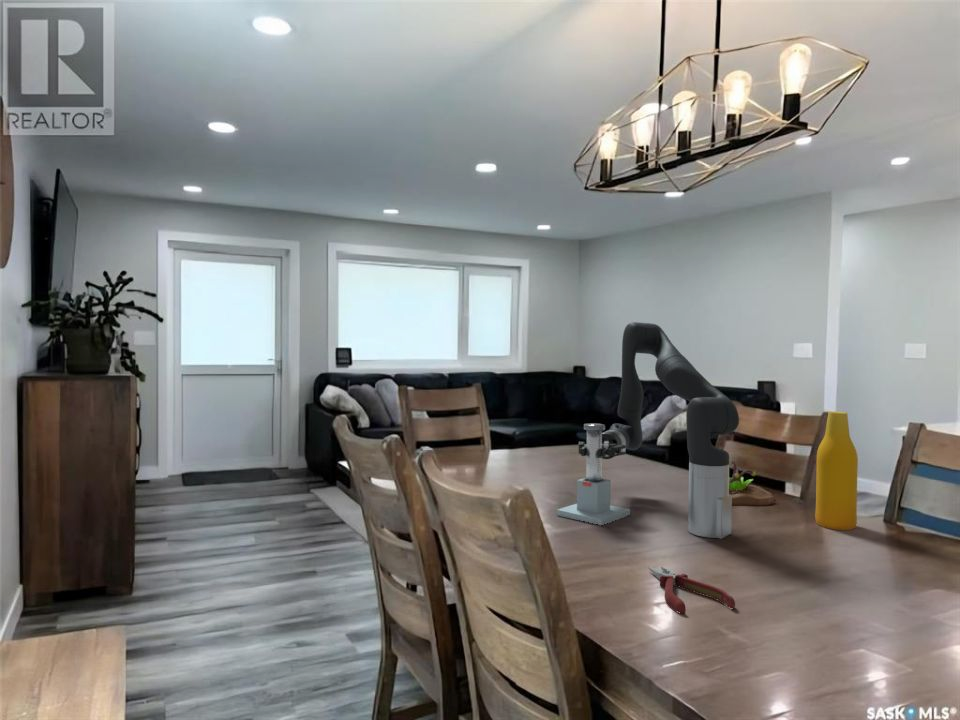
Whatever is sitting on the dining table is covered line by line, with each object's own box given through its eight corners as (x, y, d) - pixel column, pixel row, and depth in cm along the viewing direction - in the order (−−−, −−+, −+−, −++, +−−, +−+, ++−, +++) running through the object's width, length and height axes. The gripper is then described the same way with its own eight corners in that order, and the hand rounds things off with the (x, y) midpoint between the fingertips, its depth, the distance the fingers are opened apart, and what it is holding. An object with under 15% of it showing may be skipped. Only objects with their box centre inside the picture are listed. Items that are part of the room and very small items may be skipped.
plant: (757, 491, 200) (758, 456, 200) (782, 507, 181) (782, 468, 180) (693, 489, 202) (693, 454, 201) (710, 505, 182) (710, 466, 182)
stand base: (629, 514, 170) (630, 479, 170) (601, 525, 160) (602, 488, 160) (586, 505, 180) (586, 472, 180) (556, 515, 170) (557, 480, 169)
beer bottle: (815, 527, 159) (817, 413, 159) (815, 518, 168) (817, 409, 167) (857, 532, 155) (860, 415, 154) (855, 523, 163) (857, 411, 163)
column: (608, 503, 170) (609, 424, 169) (596, 507, 166) (597, 426, 165) (590, 499, 174) (591, 422, 173) (579, 503, 170) (579, 424, 169)
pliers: (680, 571, 130) (680, 558, 130) (738, 612, 110) (738, 597, 110) (628, 575, 128) (628, 562, 127) (678, 618, 108) (678, 603, 108)
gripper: (586, 429, 185) (565, 437, 170) (634, 432, 179) (617, 441, 164) (585, 454, 186) (565, 464, 170) (634, 459, 179) (617, 469, 164)
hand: (591, 453), depth 167 cm, fingers closed on column, 4 cm apart
